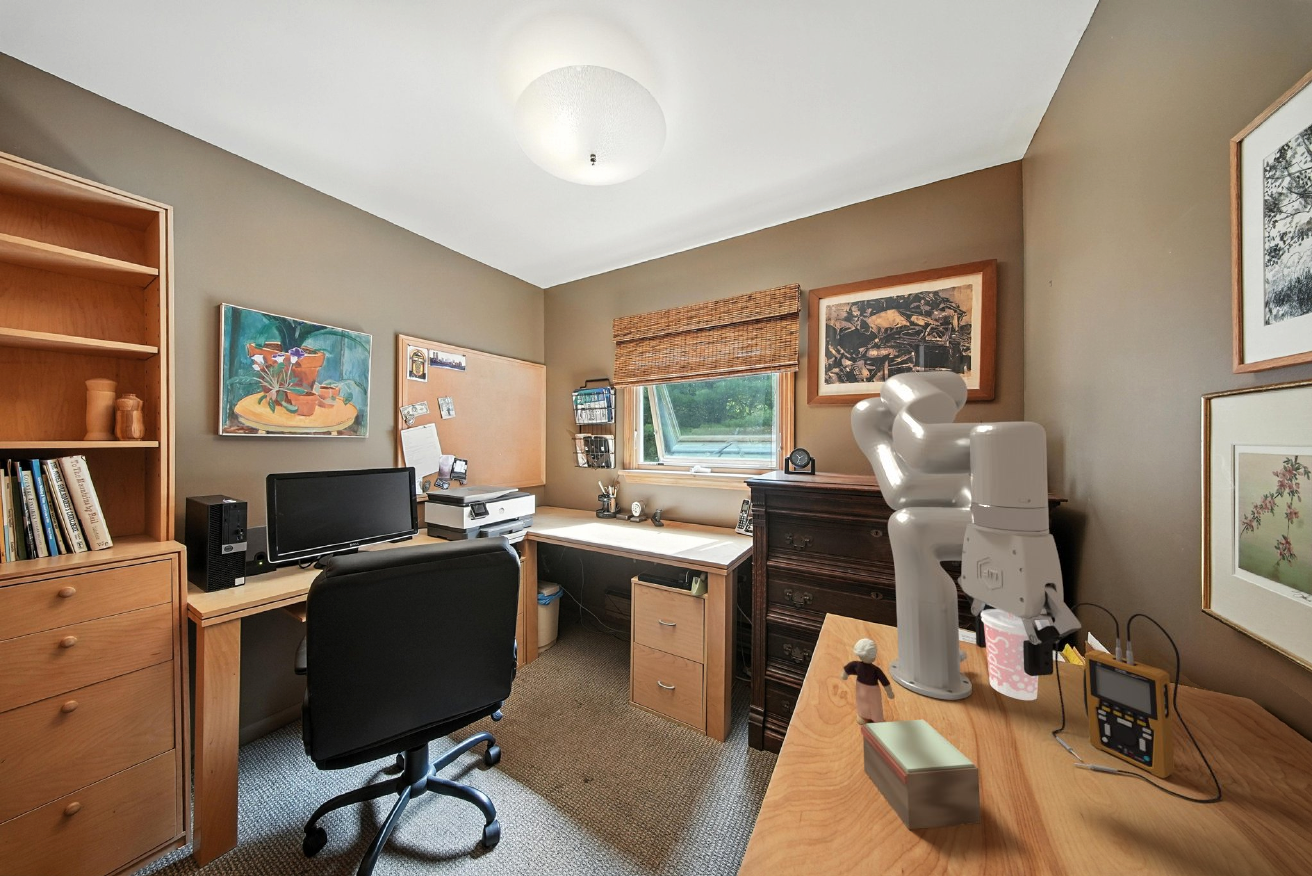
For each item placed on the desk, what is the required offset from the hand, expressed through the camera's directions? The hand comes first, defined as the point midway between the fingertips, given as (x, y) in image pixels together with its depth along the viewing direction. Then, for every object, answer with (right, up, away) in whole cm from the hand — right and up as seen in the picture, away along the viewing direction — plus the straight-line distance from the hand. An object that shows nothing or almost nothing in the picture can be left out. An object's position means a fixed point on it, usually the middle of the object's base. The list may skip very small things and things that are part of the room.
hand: (1012, 657), depth 53 cm
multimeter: (+16, -16, +2) cm, 22 cm away
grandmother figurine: (-12, -16, +12) cm, 24 cm away
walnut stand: (-13, -16, -2) cm, 21 cm away
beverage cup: (0, -4, 0) cm, 4 cm away
